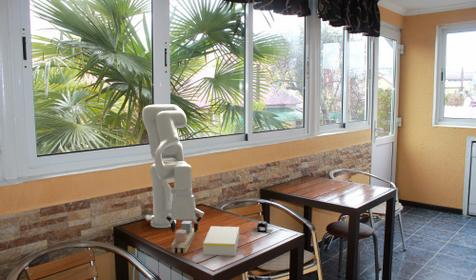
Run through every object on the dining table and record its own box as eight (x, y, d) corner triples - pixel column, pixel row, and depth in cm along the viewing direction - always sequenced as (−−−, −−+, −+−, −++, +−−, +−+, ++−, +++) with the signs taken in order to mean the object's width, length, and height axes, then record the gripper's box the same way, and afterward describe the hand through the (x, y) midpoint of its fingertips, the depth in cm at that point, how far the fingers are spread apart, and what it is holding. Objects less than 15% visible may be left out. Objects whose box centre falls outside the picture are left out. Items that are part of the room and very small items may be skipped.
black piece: (247, 232, 190) (247, 223, 189) (252, 227, 197) (252, 218, 196) (272, 235, 186) (272, 226, 185) (276, 230, 192) (277, 221, 192)
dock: (203, 254, 163) (203, 243, 162) (211, 236, 183) (210, 226, 183) (234, 255, 162) (234, 244, 161) (239, 237, 182) (239, 227, 181)
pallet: (171, 253, 166) (171, 244, 165) (182, 235, 185) (182, 227, 185) (185, 253, 165) (185, 244, 165) (195, 236, 185) (195, 227, 184)
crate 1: (175, 242, 167) (174, 233, 167) (177, 238, 171) (177, 229, 171) (184, 242, 167) (184, 233, 166) (186, 238, 171) (186, 229, 170)
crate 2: (181, 232, 179) (181, 223, 178) (183, 229, 183) (183, 220, 182) (190, 232, 178) (190, 223, 178) (192, 229, 182) (191, 220, 182)
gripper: (161, 194, 169) (162, 234, 171) (201, 194, 168) (202, 234, 169) (165, 190, 177) (167, 228, 178) (204, 190, 175) (205, 228, 177)
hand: (184, 231), depth 174 cm, fingers open, 9 cm apart
